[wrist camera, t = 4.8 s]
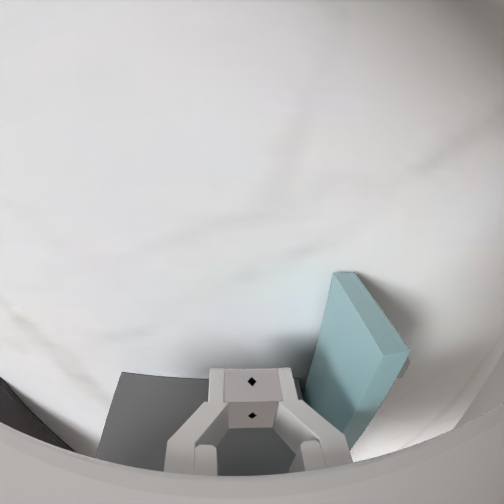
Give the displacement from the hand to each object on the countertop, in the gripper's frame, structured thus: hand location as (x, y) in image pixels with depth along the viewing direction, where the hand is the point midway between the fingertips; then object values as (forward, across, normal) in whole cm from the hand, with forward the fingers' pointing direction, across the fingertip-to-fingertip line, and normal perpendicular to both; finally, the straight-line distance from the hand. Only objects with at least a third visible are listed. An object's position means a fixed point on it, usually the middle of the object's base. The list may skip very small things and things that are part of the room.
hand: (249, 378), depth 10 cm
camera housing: (+3, +2, +10) cm, 10 cm away
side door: (+3, -4, +7) cm, 9 cm away
